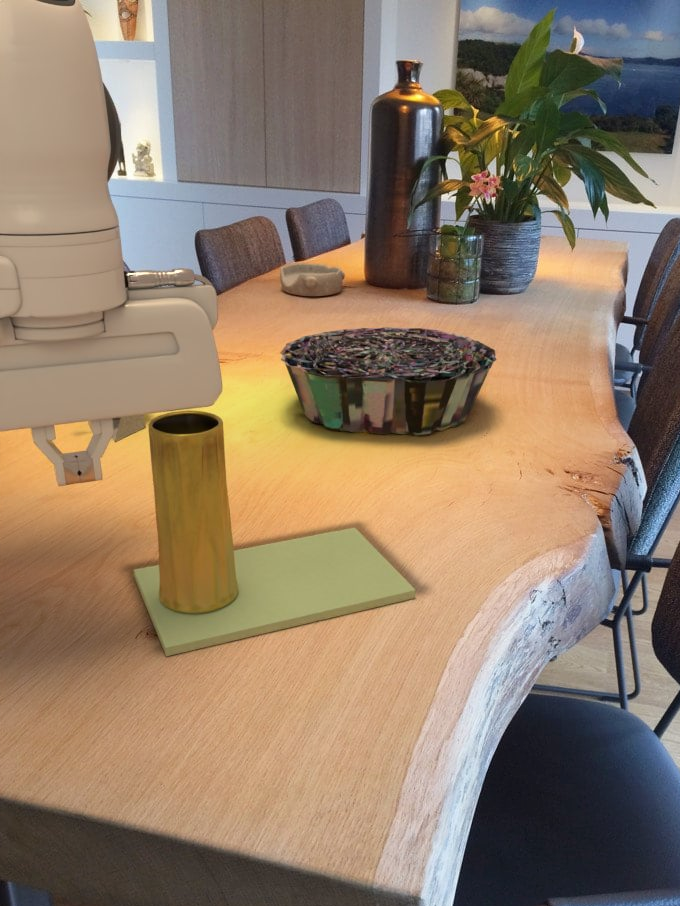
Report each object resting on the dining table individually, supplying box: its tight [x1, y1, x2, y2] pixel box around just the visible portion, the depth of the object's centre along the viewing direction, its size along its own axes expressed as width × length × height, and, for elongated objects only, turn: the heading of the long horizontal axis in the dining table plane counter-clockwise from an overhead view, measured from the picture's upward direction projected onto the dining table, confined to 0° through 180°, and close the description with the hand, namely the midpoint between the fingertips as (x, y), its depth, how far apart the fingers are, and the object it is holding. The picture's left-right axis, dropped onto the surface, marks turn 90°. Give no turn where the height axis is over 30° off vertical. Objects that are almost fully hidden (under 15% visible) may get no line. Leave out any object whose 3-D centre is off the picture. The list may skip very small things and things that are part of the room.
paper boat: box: [112, 414, 146, 443], centre depth 99 cm, size 12×6×9 cm
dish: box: [279, 262, 346, 297], centre depth 178 cm, size 14×14×5 cm
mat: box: [133, 527, 417, 657], centre depth 67 cm, size 20×12×1 cm, turn 115°
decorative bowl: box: [279, 326, 497, 437], centre depth 106 cm, size 26×28×10 cm
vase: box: [148, 410, 238, 614], centre depth 62 cm, size 6×6×14 cm
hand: (79, 480), depth 57 cm, fingers closed
